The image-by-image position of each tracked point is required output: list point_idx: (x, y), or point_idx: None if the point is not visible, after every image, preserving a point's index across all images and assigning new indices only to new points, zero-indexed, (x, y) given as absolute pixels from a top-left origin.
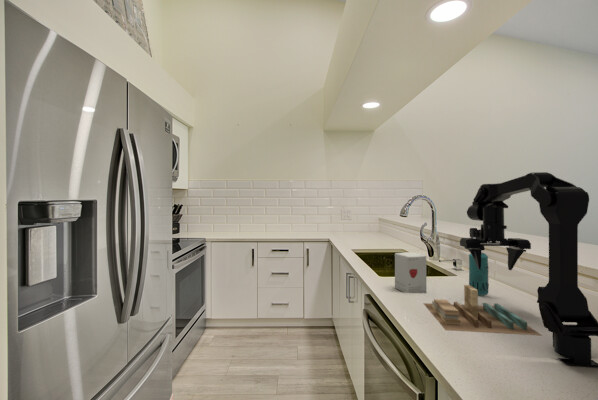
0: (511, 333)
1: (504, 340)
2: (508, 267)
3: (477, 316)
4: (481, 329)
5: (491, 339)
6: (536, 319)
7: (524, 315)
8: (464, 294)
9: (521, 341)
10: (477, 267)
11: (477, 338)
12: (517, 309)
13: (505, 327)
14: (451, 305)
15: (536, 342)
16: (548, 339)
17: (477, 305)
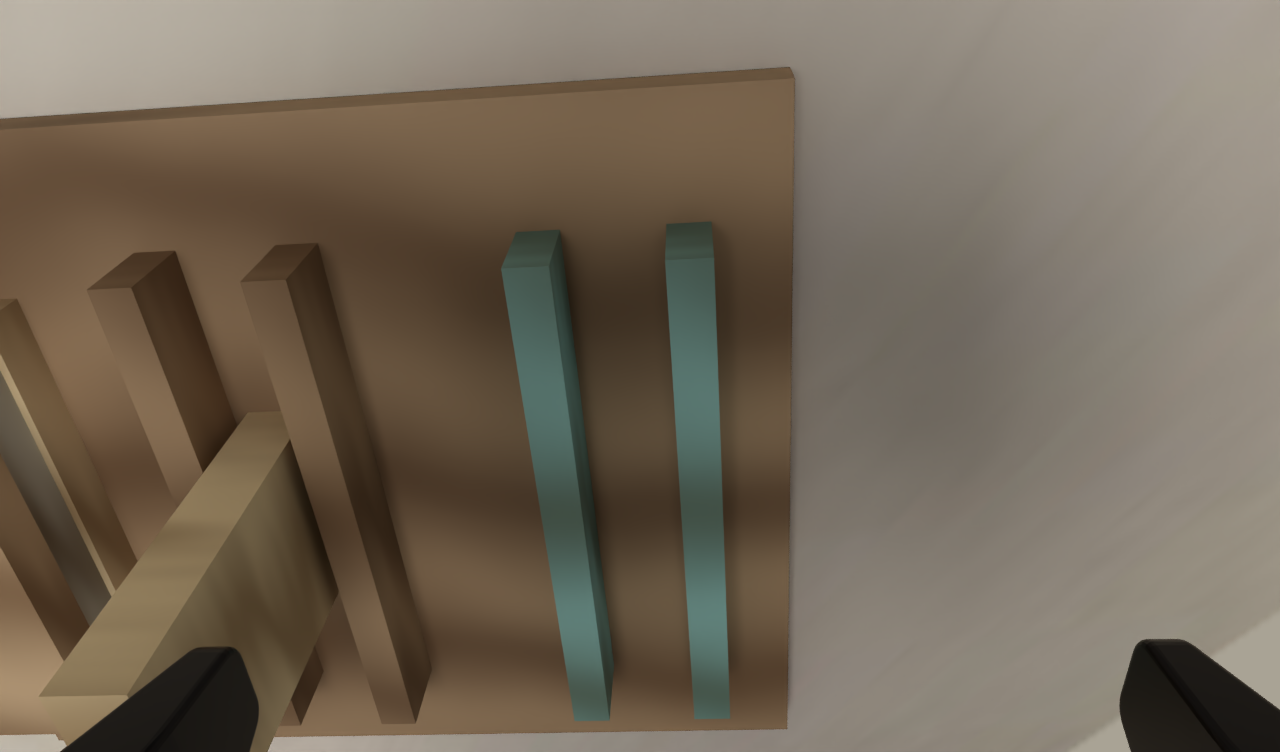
0: (553, 731)
1: (482, 745)
2: (1163, 704)
3: (335, 587)
4: (337, 703)
5: (393, 744)
6: (1074, 335)
7: (1021, 234)
8: (128, 582)
9: (599, 743)
10: (172, 683)
11: (297, 743)
12: (1101, 3)
13: (556, 650)
14: (26, 619)
15: (701, 743)
16: (829, 699)
17: (293, 684)
